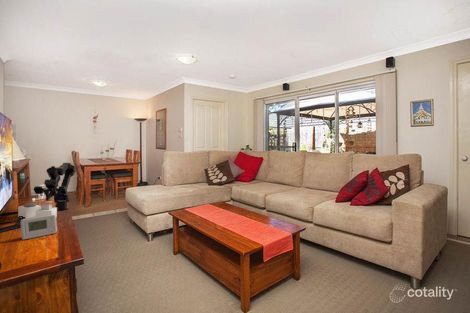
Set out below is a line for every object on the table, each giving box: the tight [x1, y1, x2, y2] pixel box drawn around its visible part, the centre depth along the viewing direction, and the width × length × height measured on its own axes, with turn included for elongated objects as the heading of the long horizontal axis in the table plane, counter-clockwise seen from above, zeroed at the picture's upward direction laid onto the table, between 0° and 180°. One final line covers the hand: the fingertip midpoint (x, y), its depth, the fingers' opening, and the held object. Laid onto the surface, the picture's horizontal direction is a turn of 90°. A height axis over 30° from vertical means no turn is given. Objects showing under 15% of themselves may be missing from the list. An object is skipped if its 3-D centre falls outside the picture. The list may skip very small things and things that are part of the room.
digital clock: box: [20, 215, 58, 241], centre depth 138 cm, size 16×9×11 cm, turn 132°
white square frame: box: [35, 206, 58, 218], centre depth 168 cm, size 9×9×7 cm
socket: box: [17, 204, 41, 219], centre depth 174 cm, size 9×9×7 cm
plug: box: [23, 202, 37, 207], centre depth 174 cm, size 6×6×8 cm
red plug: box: [40, 199, 54, 210], centre depth 168 cm, size 6×6×8 cm
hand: (46, 200), depth 168 cm, fingers closed
